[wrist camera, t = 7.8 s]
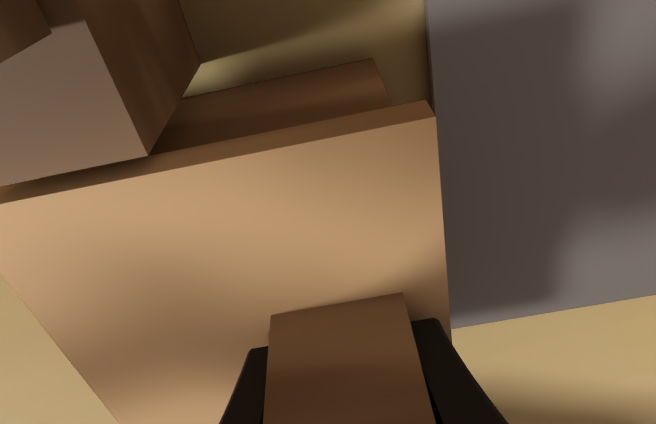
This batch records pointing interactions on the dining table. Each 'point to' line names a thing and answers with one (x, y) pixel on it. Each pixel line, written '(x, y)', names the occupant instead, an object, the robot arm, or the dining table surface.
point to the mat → (544, 152)
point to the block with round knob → (20, 26)
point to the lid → (244, 271)
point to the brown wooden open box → (144, 92)
